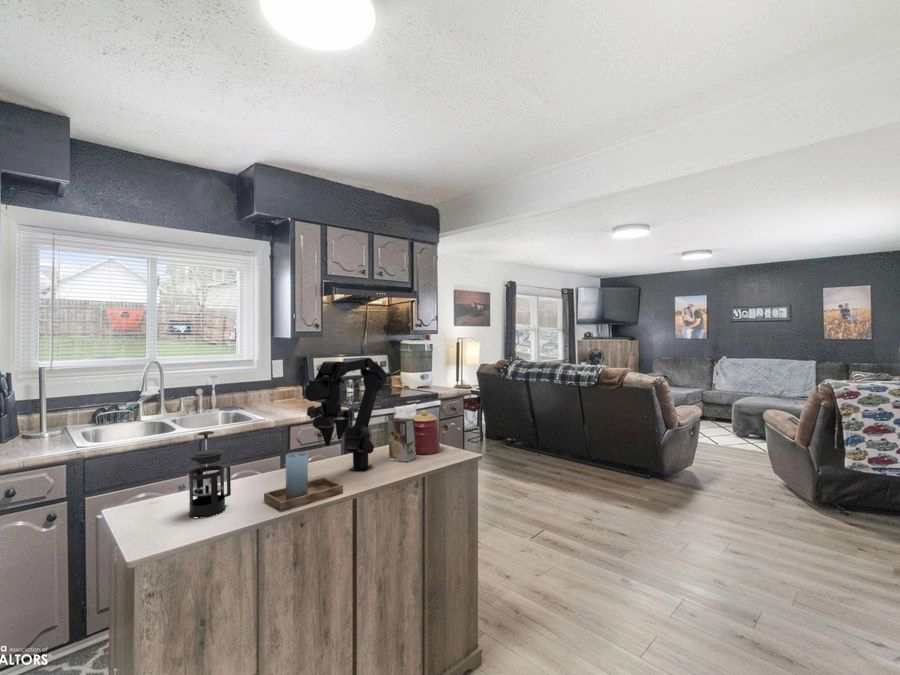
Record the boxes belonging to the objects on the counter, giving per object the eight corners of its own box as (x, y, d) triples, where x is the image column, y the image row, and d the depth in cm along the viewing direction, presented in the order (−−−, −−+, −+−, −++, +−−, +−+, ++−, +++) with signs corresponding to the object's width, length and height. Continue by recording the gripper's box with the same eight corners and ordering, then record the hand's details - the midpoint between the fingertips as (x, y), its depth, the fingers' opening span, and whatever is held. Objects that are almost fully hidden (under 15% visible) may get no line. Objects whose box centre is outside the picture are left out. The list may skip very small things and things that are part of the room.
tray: (323, 484, 150) (323, 477, 150) (342, 493, 142) (342, 485, 142) (264, 501, 136) (263, 493, 136) (281, 511, 127) (281, 503, 127)
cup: (287, 494, 140) (287, 452, 140) (308, 492, 141) (308, 451, 141) (284, 501, 133) (284, 457, 133) (306, 499, 135) (306, 456, 135)
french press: (195, 522, 122) (193, 437, 121) (180, 514, 127) (178, 433, 127) (237, 508, 131) (236, 429, 131) (221, 501, 137) (220, 426, 137)
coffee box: (416, 458, 180) (415, 418, 180) (407, 462, 175) (406, 421, 175) (397, 456, 184) (396, 417, 184) (388, 460, 179) (387, 420, 179)
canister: (428, 457, 182) (427, 413, 182) (403, 453, 189) (402, 411, 189) (445, 449, 193) (445, 409, 193) (421, 446, 200) (420, 406, 200)
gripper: (323, 394, 166) (324, 436, 166) (297, 401, 147) (298, 448, 147) (351, 394, 164) (352, 436, 164) (328, 401, 145) (329, 449, 145)
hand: (333, 442), depth 155 cm, fingers open, 9 cm apart
